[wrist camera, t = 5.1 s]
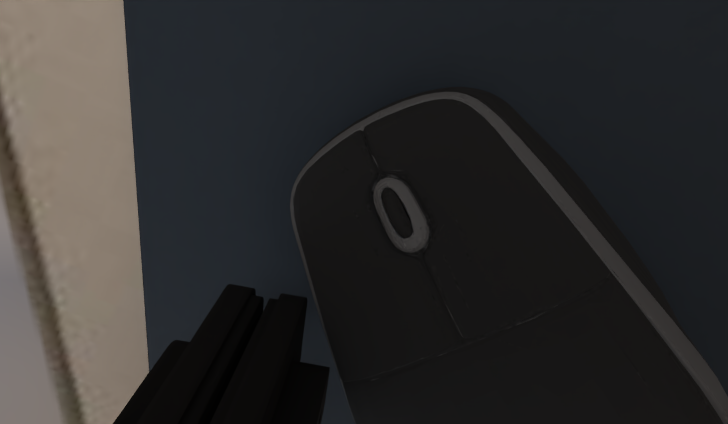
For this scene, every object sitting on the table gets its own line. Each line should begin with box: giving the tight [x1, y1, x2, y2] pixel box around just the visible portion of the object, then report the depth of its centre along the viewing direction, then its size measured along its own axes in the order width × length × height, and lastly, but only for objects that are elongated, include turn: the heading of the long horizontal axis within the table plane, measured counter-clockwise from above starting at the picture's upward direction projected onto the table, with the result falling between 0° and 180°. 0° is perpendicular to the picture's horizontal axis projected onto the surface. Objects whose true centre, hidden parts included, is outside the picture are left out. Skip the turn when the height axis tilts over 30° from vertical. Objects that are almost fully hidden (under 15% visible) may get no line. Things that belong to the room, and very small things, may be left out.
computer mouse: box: [290, 87, 728, 424], centre depth 9 cm, size 7×12×4 cm, turn 31°
